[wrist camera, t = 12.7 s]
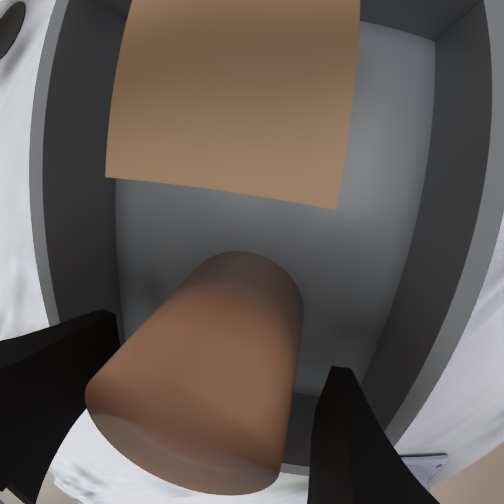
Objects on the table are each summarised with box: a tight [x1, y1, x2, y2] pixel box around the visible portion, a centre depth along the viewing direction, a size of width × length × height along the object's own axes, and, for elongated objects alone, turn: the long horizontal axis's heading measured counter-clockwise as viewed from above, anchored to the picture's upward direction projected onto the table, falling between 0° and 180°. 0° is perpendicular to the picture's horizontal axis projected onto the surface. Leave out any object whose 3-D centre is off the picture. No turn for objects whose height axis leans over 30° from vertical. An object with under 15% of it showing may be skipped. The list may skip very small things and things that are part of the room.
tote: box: [29, 0, 504, 476], centre depth 9 cm, size 18×14×5 cm
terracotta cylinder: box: [85, 252, 304, 495], centre depth 9 cm, size 5×5×7 cm
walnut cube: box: [105, 0, 360, 210], centre depth 7 cm, size 5×5×5 cm
